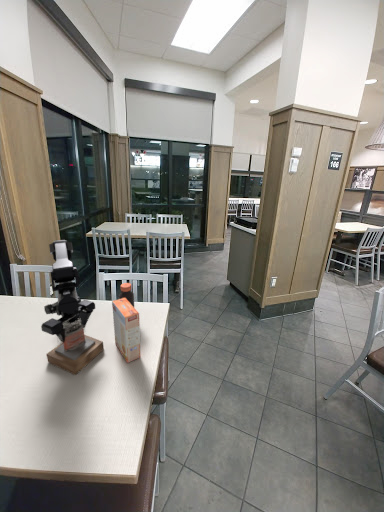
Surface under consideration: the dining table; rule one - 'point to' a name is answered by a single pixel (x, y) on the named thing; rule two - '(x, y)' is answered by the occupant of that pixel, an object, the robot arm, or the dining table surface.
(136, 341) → the cracker box
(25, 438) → the dining table surface
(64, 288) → the robot arm
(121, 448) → the dining table surface
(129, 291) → the bottle
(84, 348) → the walnut base
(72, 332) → the lighter
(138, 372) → the dining table surface
